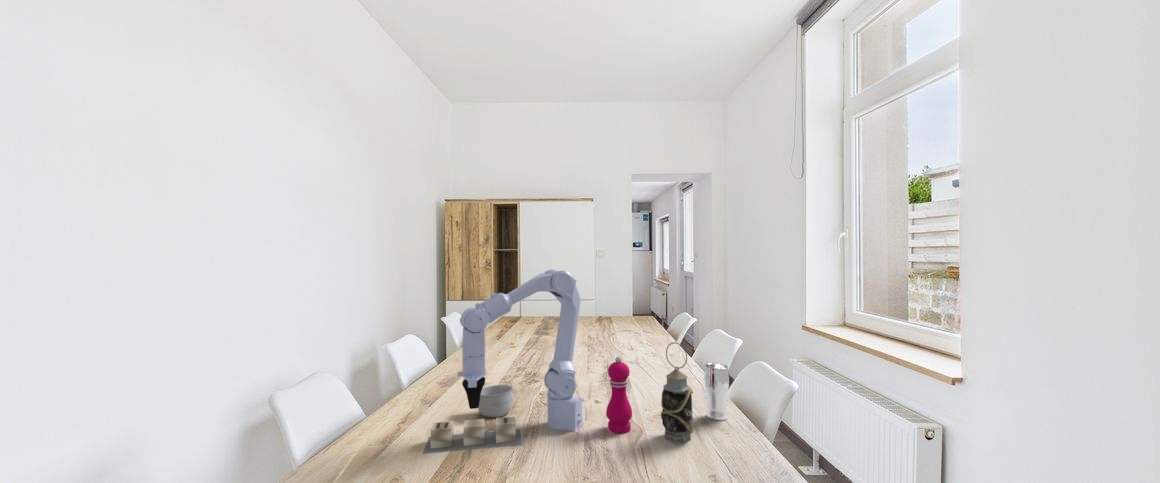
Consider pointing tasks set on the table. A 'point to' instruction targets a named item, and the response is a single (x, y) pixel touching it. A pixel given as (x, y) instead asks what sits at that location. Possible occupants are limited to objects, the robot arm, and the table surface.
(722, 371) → the silver tall cylinder
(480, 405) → the teacup
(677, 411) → the lantern
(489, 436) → the mat
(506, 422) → the marked block one
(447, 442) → the marked block two
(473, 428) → the plain block
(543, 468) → the table surface
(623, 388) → the pepper mill
